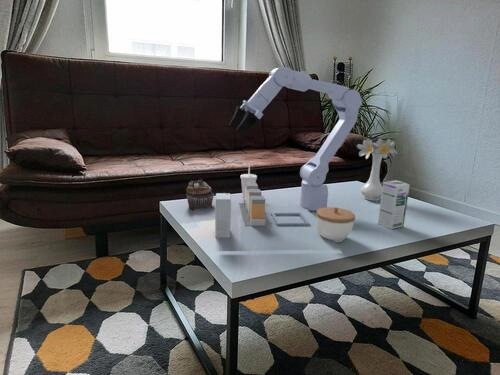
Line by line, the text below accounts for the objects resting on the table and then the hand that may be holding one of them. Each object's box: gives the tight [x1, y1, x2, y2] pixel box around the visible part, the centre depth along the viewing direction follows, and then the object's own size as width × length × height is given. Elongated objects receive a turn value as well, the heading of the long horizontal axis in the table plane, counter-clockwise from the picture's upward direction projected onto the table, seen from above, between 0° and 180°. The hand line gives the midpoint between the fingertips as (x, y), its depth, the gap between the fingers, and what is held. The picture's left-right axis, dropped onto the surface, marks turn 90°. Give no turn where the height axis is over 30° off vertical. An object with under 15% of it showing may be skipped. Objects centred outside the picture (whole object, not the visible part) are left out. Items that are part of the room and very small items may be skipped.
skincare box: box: [214, 192, 232, 239], centre depth 97 cm, size 6×4×12 cm
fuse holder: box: [238, 198, 272, 227], centre depth 116 cm, size 8×23×3 cm, turn 7°
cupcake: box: [185, 178, 215, 211], centre depth 121 cm, size 10×10×10 cm
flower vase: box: [356, 138, 399, 202], centre depth 139 cm, size 13×18×25 cm
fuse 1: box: [245, 182, 259, 206], centre depth 122 cm, size 4×4×8 cm
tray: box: [271, 212, 310, 227], centre depth 111 cm, size 10×10×2 cm
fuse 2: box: [247, 188, 262, 213], centre depth 115 cm, size 4×4×8 cm
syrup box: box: [377, 180, 411, 230], centre depth 111 cm, size 6×6×14 cm
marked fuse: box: [250, 195, 266, 223], centre depth 107 cm, size 4×4×8 cm
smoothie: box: [240, 163, 258, 200], centre depth 132 cm, size 6×6×14 cm
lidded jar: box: [315, 206, 356, 243], centre depth 99 cm, size 11×11×9 cm
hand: (234, 130), depth 113 cm, fingers open, 7 cm apart
